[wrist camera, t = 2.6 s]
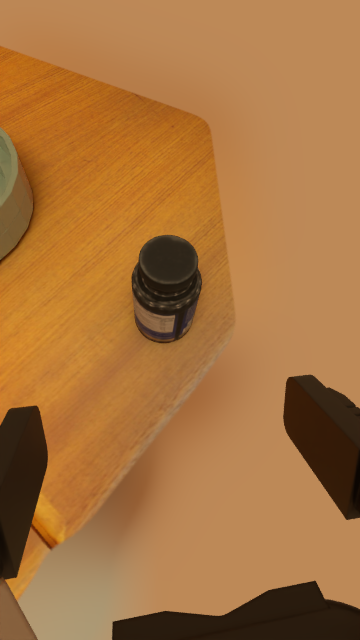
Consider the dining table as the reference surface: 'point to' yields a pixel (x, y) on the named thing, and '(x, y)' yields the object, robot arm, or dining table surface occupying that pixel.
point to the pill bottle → (166, 288)
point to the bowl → (12, 196)
